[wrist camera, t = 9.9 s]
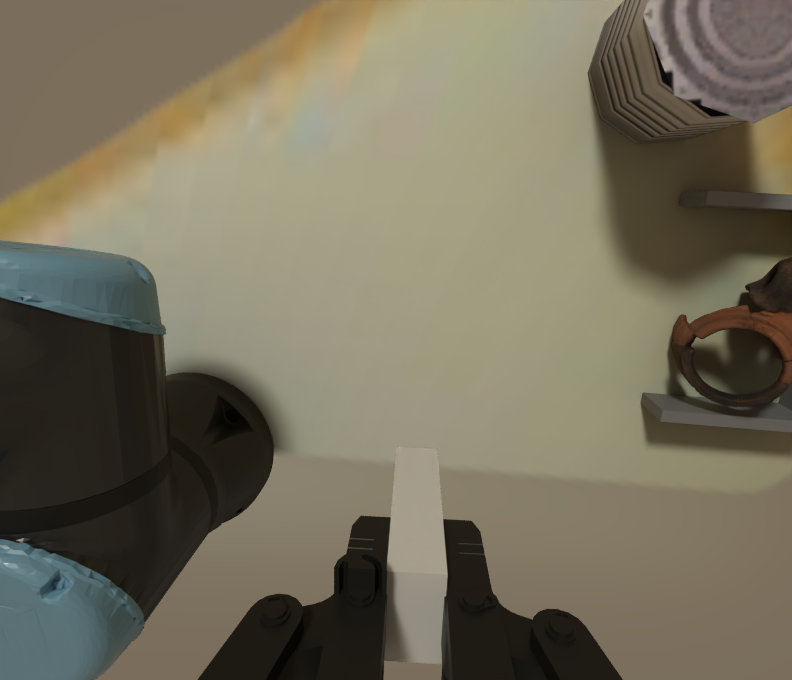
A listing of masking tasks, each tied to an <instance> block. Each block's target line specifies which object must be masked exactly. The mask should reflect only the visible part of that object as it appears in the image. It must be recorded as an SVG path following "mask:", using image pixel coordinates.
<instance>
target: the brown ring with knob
mask: <svg viewBox="0 0 792 680" xmlns="http://www.w3.org/2000/svg"><path fill="white" fill-rule="evenodd" d="M745 288H746V290H748V291H750V292H749V298H750V300H751V301H752V303H753V304H754V305H755V306H756V307H758V308H759V309H761V310H763V311H762V312H758V313H751V312H750V310H749V307H748V305H742V306H736V307H731V308H726V309H721V310H718V311H716V312H713V313H710V314H707V315H704V316H702V317H700V318H698V319H696V320H694V321H693V322H692V323H690V324H689V323H688V322H687V319H686V315H680V316H679V317H678V319H677V321H676V323H675V325H674V327H673V333H672V336H673V339H674V340H673V341H672V344H671V346H672V350H673V354H674V357H675V360H676V363H677V365H678V368H679V369H680V371H681V373H682V374H683V375H684V377H685V378H686V379H687V381H688V382H689V383H690V385H691V386H692V387H694V388H695V390H696V391H697V392H699V393H700V394H701V395H702V396H704V397H706V398H708V399H709V400H711V401H713V402H716V403H719V404H721V405H725V406H731V407H751V406H758V405H763V404H767V403H770V402H772V401H773V400H774V399H776V398H778V397H779V396H780V395H782V394H783V393H784V392H785V391H786V390H787V389H788V387H789V384H790V383H791V382H792V257H790V258H788V259H784V260H781V261H779V262H778V263H777V264H776V265H775V266H774V267H773V268H772V269H771V270H770V271H769V272H768V273H767V275H765V276H764V277H763V278H762V279H760V280H758V281H756V282H753V283H750V284H747V285H746V286H745ZM726 329H746V330H753V331H755V332H757V333H760V334H762V335H764V336H765V337H767V338H768V339H770V340H771V341H772V342H773V343H774V344H775V345H776V346H777V348H778V349H779V350H780V351H779V352H778V354H777V355H778V356H779V358H780V359H781V360H782V365H783V368H782V372H781V374H780V376H779V377H778V380H777V381H776V382H775V383H774V384H773V385H771V386H770V387H768V388H767V389H765V390H762V391H760V392H757V393H753V394H747V395H734V394H729V393H725V392H721V391H719V390H717V389H714V388H713V387H711V386H709V385H708V384H706V383H705V382H704V381H703V380H702V379H701V377H700V376H699V375H698V373H697V372H696V370H695V367H694V363H693V356H694V348H693V347H692V346H691V345H692V343H693V342H694V340H695V338H696V337H698V338H700V339H704V338H706V337H707V336H709V335H711V334H713V333H715V332H718V331H721V330H726Z"/></svg>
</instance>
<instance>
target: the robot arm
mask: <svg viewBox="0 0 792 680" xmlns="http://www.w3.org/2000/svg"><path fill="white" fill-rule="evenodd" d="M164 334H166V329H165V326H164V325H162V323H161V317H160V311H159V303H158V296H157V288H156V283H155V280H154V277H153V275H152V274H151V272H150V271H149V270H148V269H147V268H146V267H145V266H144V265H143V264H142V263H140V262H138V261H137V260H135V259H132V258H129V257H126V256H122V255H117V254H111V253H105V252H98V251H91V250H83V249H75V248H67V247H59V246H49V245H40V244H31V243H21V242H11V241H0V680H94V679H97V678H98V677H99V676H101V675H102V674H104V672H106V671H107V670H108V669H109V667H110V666H111V665H112V664H113V663H114V662H115V660H116V659H117V658H118V657H119V656H120V655H121V654H122V652H123V651H124V650H125V649H126V648H127V647H128V645H129V644H130V643H131V642H132V641H134V640H135V639H136V638H137V637H138V636H139V635H140V633H141V631H142V629H143V628H144V626H143V625H144V624H145V622H146V620H147V619H148V617H149V616H150V614H151V613H152V612H153V610H154V609H155V607H156V606H157V605H158V603H159V602H160V600H161V599H162V598H163V596H164V595H165V593H166V592H167V591H168V589H169V588H170V586H171V585H172V584H173V582H174V581H175V579H176V578H177V577H178V575H179V574H180V572H181V571H182V570H183V568H184V567H185V565H186V564H187V562H188V561H189V559H190V558H191V557H192V555H193V554H194V553H195V551H196V550H197V548H198V547H199V546H200V544H201V543H202V541H203V540H204V539H205V537H206V536H207V534H208V533H209V532H211V531H213V530H214V529H216V528H217V527H219V526H220V525H221V524H222V523H224V522H226V521H228V520H230V519H232V518H234V517H236V516H237V515H239V514H240V513H242V512H243V511H244V510H245V509H247V508H248V507H249V506H250V504H252V502H253V501H254V500H255V499H256V497H257V496H258V494H259V493H260V491H261V490H262V488H263V487H264V485H265V483H266V481H267V480H268V478H269V475H270V472H271V469H272V464H273V442H272V437H271V433H270V430H269V428H268V425H267V423H266V421H265V419H264V417H263V415H262V414H261V412H260V411H259V409H258V408H257V407H256V405H255V404H254V403H253V402H252V401H251V400H250V399H249V398H248V397H247V396H246V395H245V394H244V393H242V392H241V391H240V390H239V389H237V388H236V387H234V386H233V385H231V384H229V383H227V382H225V381H223V380H221V379H218V378H216V377H213V376H209V375H205V374H199V373H177V374H172V375H168V376H166V367H165V353H164V338H163V335H164ZM439 479H440V478H439V466H438V455H437V449H429V448H409V447H397V452H396V464H395V475H394V487H393V499H392V511H391V518H390V517H371V516H360V517H359V518H358V520H357V521H356V522H355V523H354V524H353V525H352V530H351V534H350V540H349V544H348V549H347V553H346V555H344V556H343V557H341V558H340V559H339V560H338V561H337V563H336V565H335V567H334V594H333V595H332V596H331V597H329V598H328V599H326V600H324V601H322V602H319V603H316V604H312V605H307V606H302V605H301V603H300V602H299V601H298V600H297V599H296V598H294V597H292V596H290V595H286V594H275V595H270V596H267V597H265V598H263V599H261V600H259V601H258V602H257V603H255V604H254V605H253V606H252V607H251V608H250V610H249V611H248V612H247V614H246V615H245V616H244V618H243V619H242V621H241V622H240V623H239V625H238V626H237V627H236V629H235V630H234V631H233V633H232V634H231V635H230V637H229V638H228V639H227V641H226V642H225V643H224V645H223V646H222V648H221V649H220V650H219V652H218V653H217V654H216V656H215V657H214V658H213V660H212V661H211V662H210V664H209V665H208V666H207V668H206V669H205V671H204V672H203V673H202V675H201V676H200V677H199V679H198V680H383V675H384V661H399V662H400V661H401V662H416V663H430V664H441V660H442V679H441V680H622V678H621V677H620V675H619V674H618V672H617V671H616V669H615V668H614V667H613V665H612V664H611V662H610V661H609V659H608V658H607V656H606V655H605V653H604V652H603V651H602V649H601V648H600V646H599V645H598V643H597V642H596V641H595V639H594V638H593V636H592V635H591V633H590V632H589V631H588V629H587V628H586V626H585V625H584V624H583V623H582V622H581V621H580V620H579V619H578V618H576V617H575V616H573V615H571V614H570V613H568V612H564V611H561V610H558V609H546V610H543V611H540V612H538V613H537V614H536V615H535V616H534V618H533V620H532V619H529V618H526V617H523V616H520V615H517V614H515V613H512V612H510V611H509V610H507V609H506V608H504V607H503V606H502V605H501V604H500V603H499V601H498V599H497V597H496V596H495V595H494V594H493V592H492V589H491V584H490V579H489V574H488V568H487V564H486V558H485V555H484V548H483V545H482V538H481V533H480V531H479V529H478V528H477V527H476V526H475V524H474V523H473V522H472V521H465V520H446V519H443V516H442V515H443V514H442V502H441V490H440V480H439Z"/></svg>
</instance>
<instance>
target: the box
mask: <svg viewBox="0 0 792 680" xmlns="http://www.w3.org/2000/svg"><path fill="white" fill-rule="evenodd" d="M679 206H694V207H712V208H731V209H750V210H768V211H787V212H792V195H786V194H767V193H747V192H728V191H697V192H685V193H682V194H681V199H680V204H679ZM641 404H642V405H643V406H644V407H645V408H646V409H647V410H648V411H649V412H651V413H652V414H653V415H654V416H655V417H656V418H657V419H658V420H659V421H660V422H670V423H682V424H694V425H706V426H718V427H731V428H743V429H755V430H767V431H779V432H792V382H791V383H790V384H789V387H788V389H787V390H786V391H785V392H784V393H783V394H782V395H781V397H780V401H779V403H767V404H763V405H758V406H751V407H731V406H725V405H721V404H719V403H716V402H713V401H711V400H709V399H708V398H703V397H690V396H678V395H665V394H652V393H643V394H642V399H641Z"/></svg>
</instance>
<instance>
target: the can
mask: <svg viewBox="0 0 792 680" xmlns="http://www.w3.org/2000/svg"><path fill="white" fill-rule="evenodd" d="M588 76H589V79H590V83H591V86H592V90H593V94H594V97H595V101H596V104H597V108H598V112H599V115H600V118H601V119H602V120H603V121H605V122H606V123H608V124H609V125H611V126H612V127H613V128H615V129H616V130H618V131H619V132H620V133H622V134H623V135H625V136H626V137H628V138H629V139H630V140H632V141H633V142H635V143H636V144H637V143H652V142H666V141H680V140H685V139H689V138H692V137H695V136H699V135H702V134H705V133H709V132H712V131H715V130H719V129H722V128H725V127H729V126H732V125H735V124H739V123H742V122H745V121H749V122H752V123H755V122H758V121H760V120H762V119H764V118H766V117H768V116H770V115H772V114H775V113H777V112H779V111H781V110H783V109H785V108H787V107H789V106H792V0H624V1H623V2H622V3H621V4H620V6H619V7H618V8H617V9H616V10H615V11H614V13H613V14H612V15H611V16H610V17H609V18H608V19H607V21H606V22H605V23H604V26H603V29H602V32H601V35H600V38H599V41H598V44H597V47H596V50H595V53H594V56H593V59H592V62H591V65H590V68H589V71H588Z"/></svg>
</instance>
